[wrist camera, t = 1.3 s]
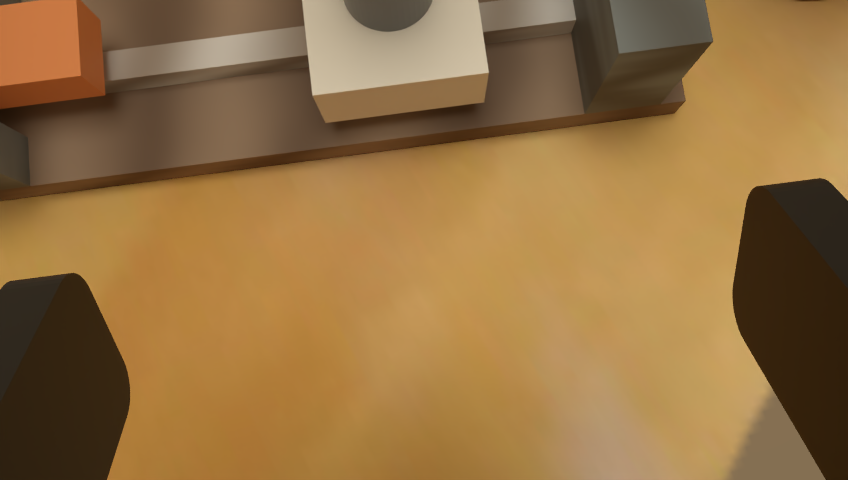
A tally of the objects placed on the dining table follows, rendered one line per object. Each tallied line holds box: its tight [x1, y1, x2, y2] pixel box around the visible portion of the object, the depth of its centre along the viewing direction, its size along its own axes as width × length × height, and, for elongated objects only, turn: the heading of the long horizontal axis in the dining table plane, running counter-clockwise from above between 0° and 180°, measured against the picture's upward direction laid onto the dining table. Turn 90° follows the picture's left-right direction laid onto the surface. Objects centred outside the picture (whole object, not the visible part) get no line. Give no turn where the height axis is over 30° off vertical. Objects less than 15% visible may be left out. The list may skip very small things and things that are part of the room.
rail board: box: [0, 0, 713, 201], centre depth 29 cm, size 30×8×8 cm, turn 97°
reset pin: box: [0, 0, 105, 109], centre depth 28 cm, size 5×3×2 cm, turn 97°
